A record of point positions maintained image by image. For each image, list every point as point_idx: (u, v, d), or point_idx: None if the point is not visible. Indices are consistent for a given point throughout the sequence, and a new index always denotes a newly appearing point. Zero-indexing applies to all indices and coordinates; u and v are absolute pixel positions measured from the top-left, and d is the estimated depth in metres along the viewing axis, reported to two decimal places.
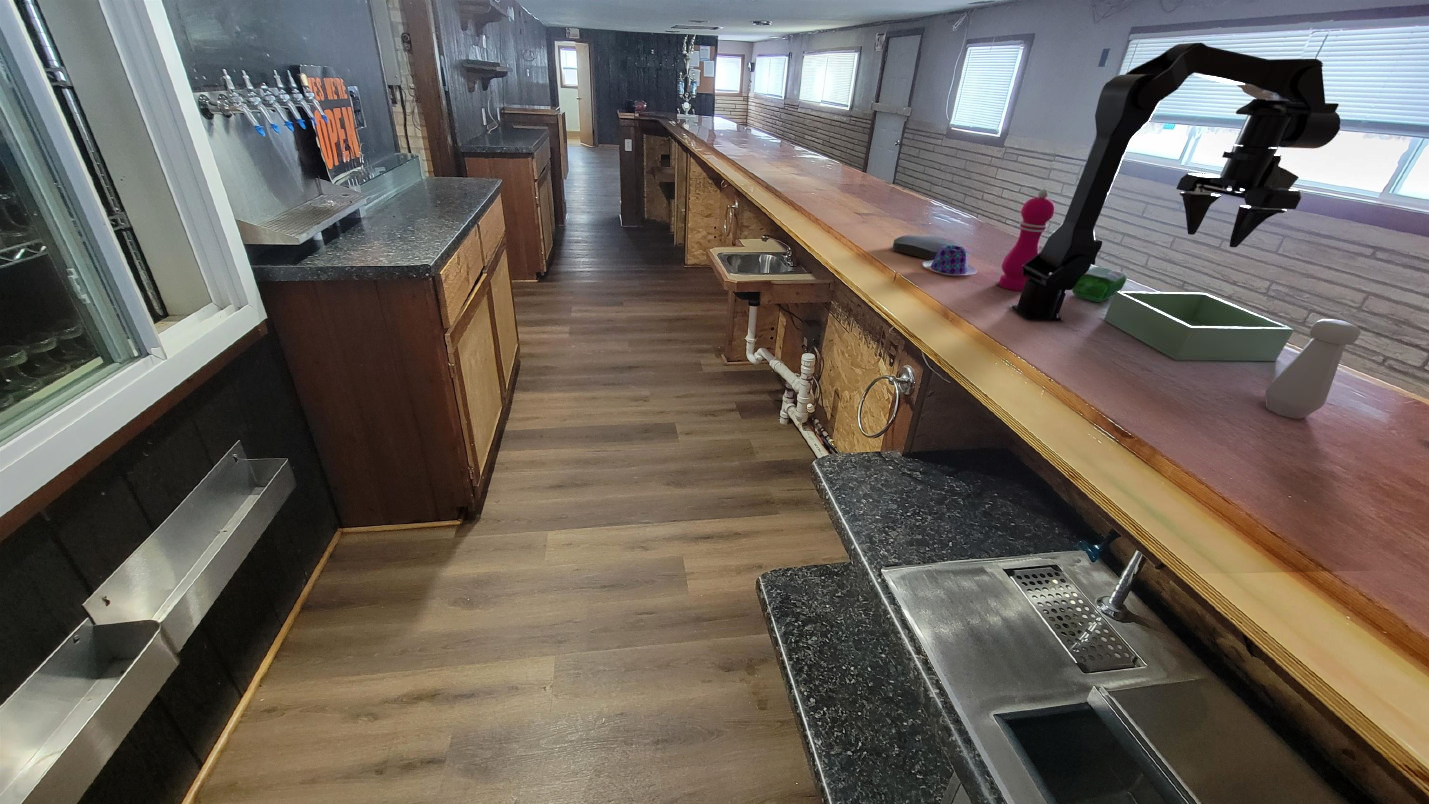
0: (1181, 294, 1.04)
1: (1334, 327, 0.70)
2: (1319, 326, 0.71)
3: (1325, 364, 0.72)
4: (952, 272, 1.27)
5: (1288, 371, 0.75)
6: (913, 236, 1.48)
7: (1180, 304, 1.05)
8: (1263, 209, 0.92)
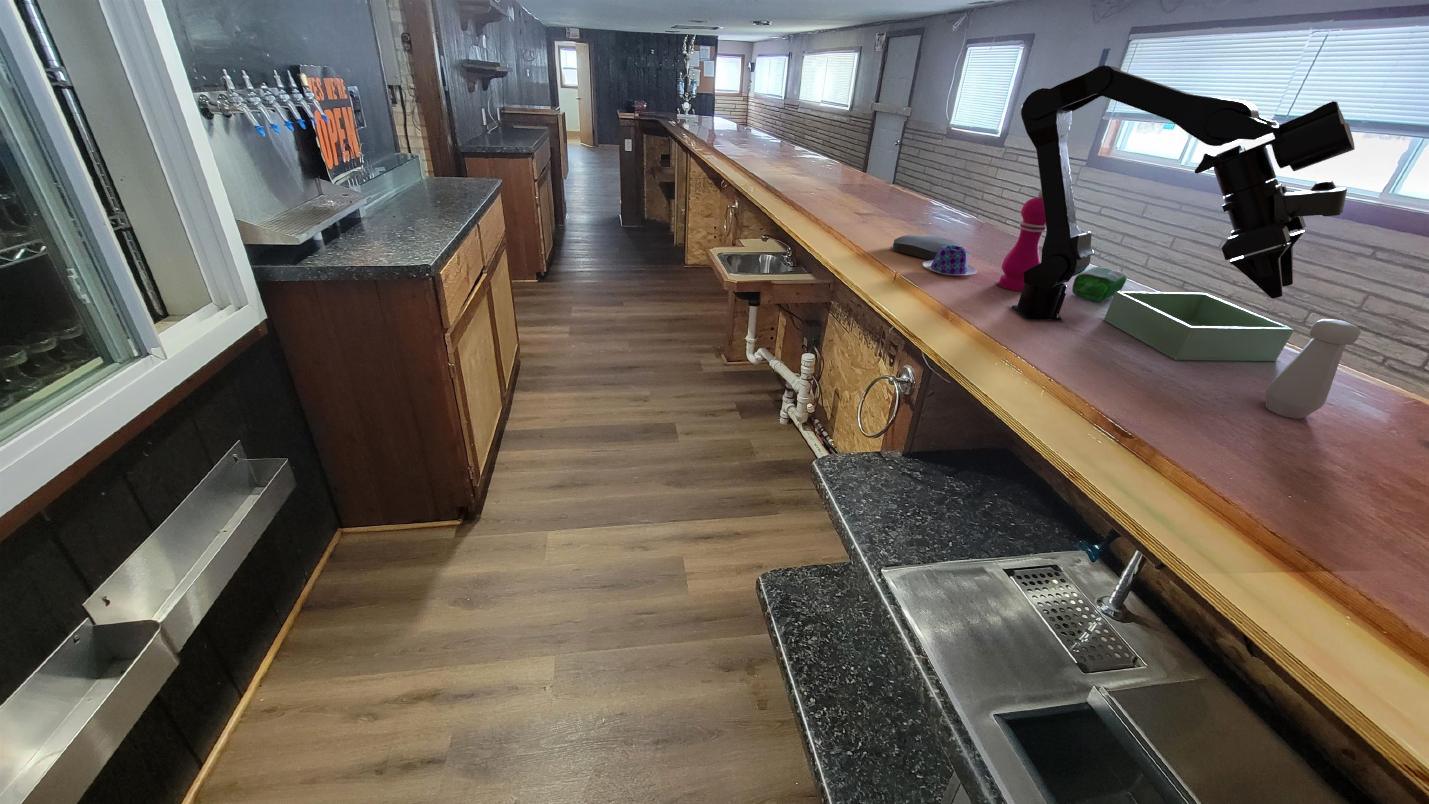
0: (1181, 294, 1.04)
1: (1334, 327, 0.70)
2: (1319, 326, 0.71)
3: (1325, 364, 0.72)
4: (952, 272, 1.27)
5: (1288, 371, 0.75)
6: (913, 236, 1.48)
7: (1180, 304, 1.05)
8: (1243, 257, 0.77)
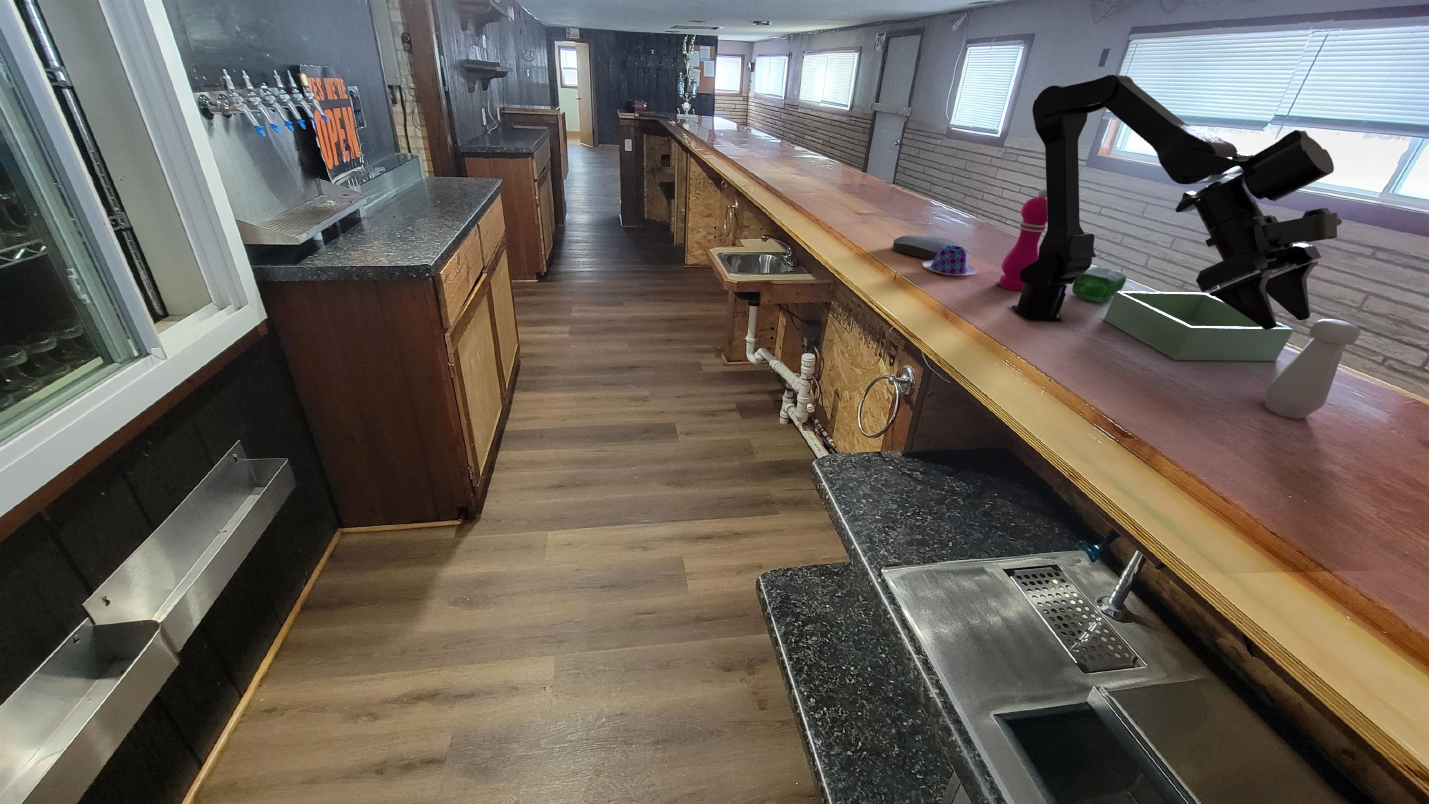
0: (1181, 294, 1.04)
1: (1334, 327, 0.70)
2: (1319, 326, 0.71)
3: (1325, 364, 0.72)
4: (952, 272, 1.27)
5: (1288, 371, 0.75)
6: (913, 236, 1.48)
7: (1180, 304, 1.05)
8: None
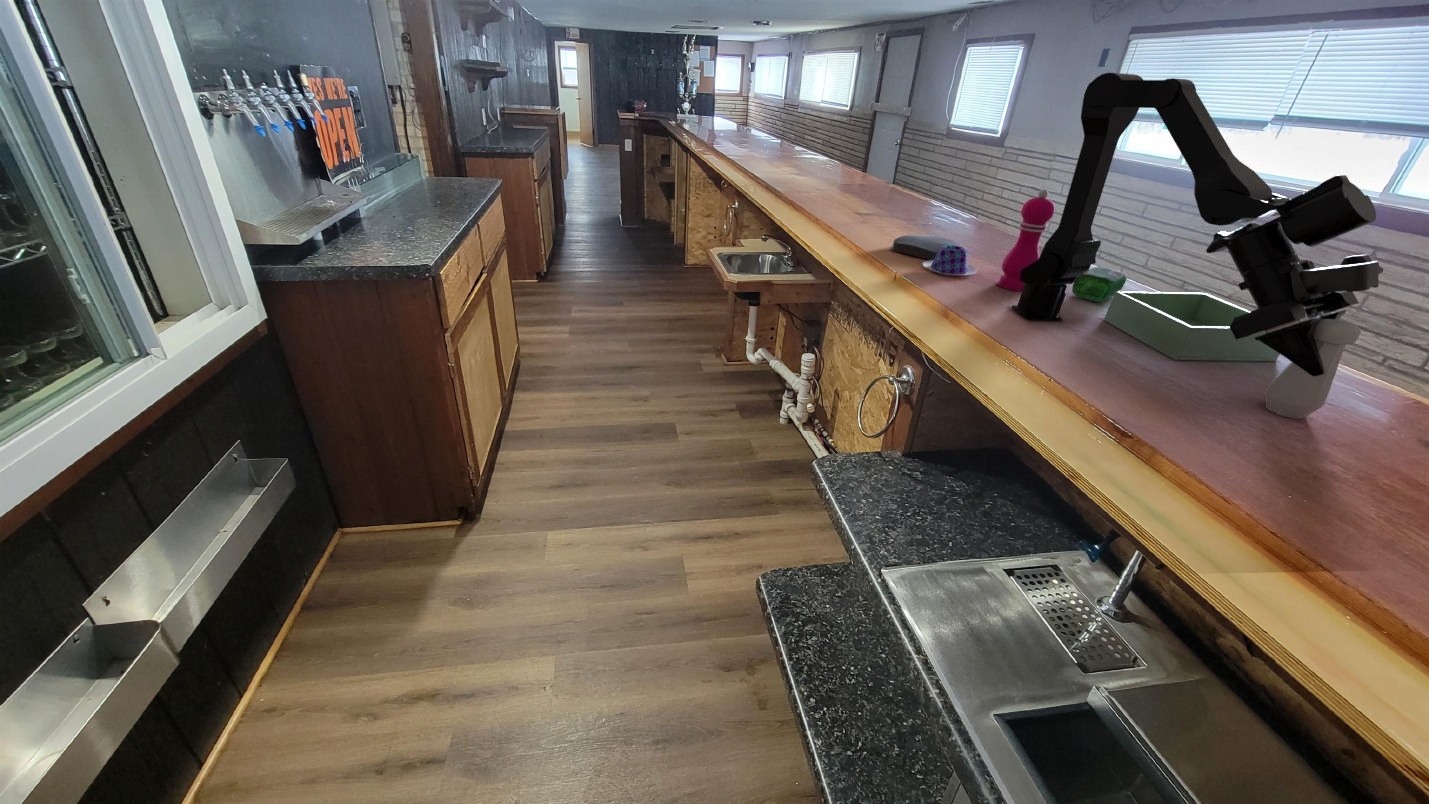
0: (1181, 294, 1.04)
1: (1334, 327, 0.70)
2: (1319, 326, 0.71)
3: (1325, 364, 0.72)
4: (952, 272, 1.27)
5: (1288, 371, 0.75)
6: (913, 236, 1.48)
7: (1180, 304, 1.05)
8: None
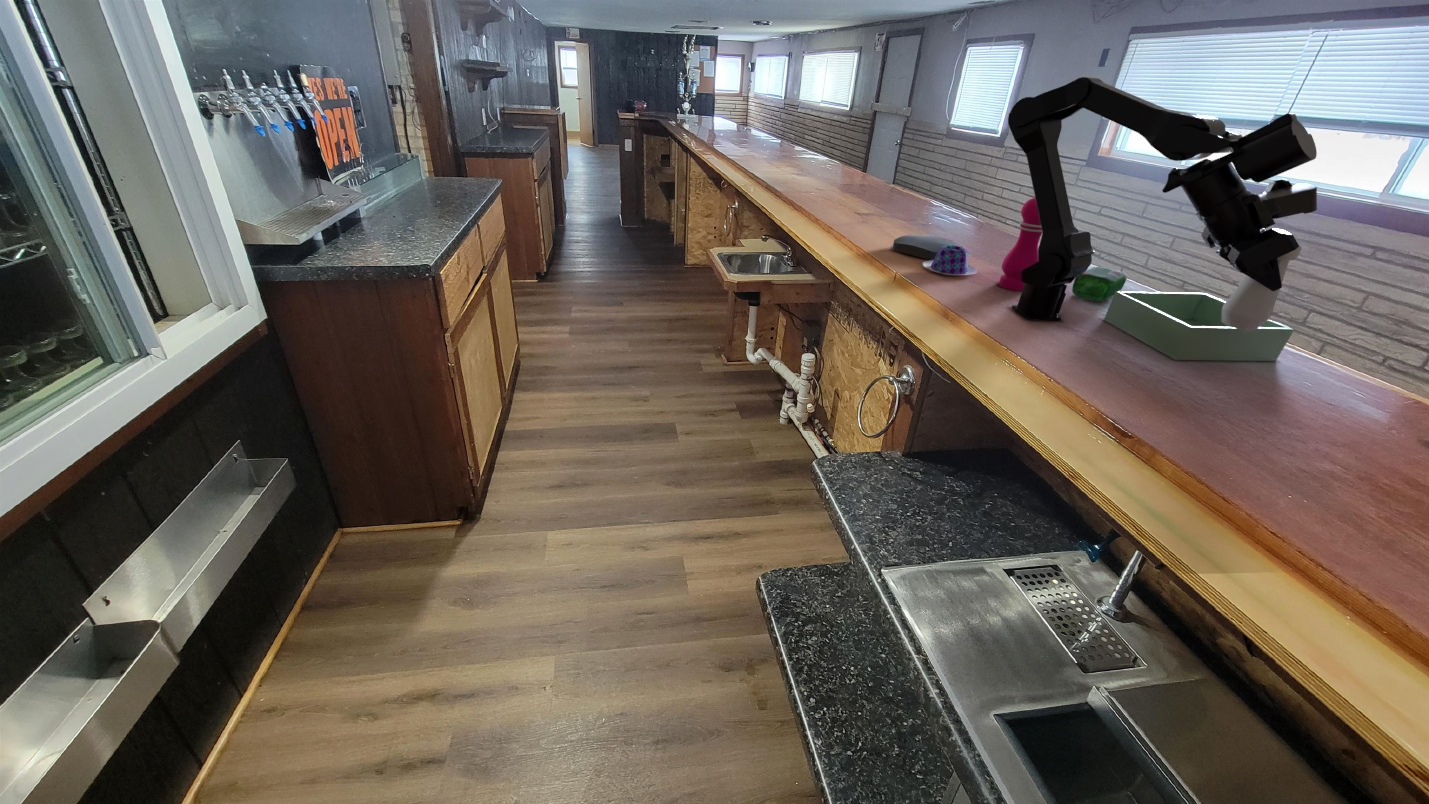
0: (1181, 294, 1.04)
1: None
2: None
3: None
4: (952, 272, 1.27)
5: (1250, 291, 0.83)
6: (913, 236, 1.48)
7: (1180, 304, 1.05)
8: None
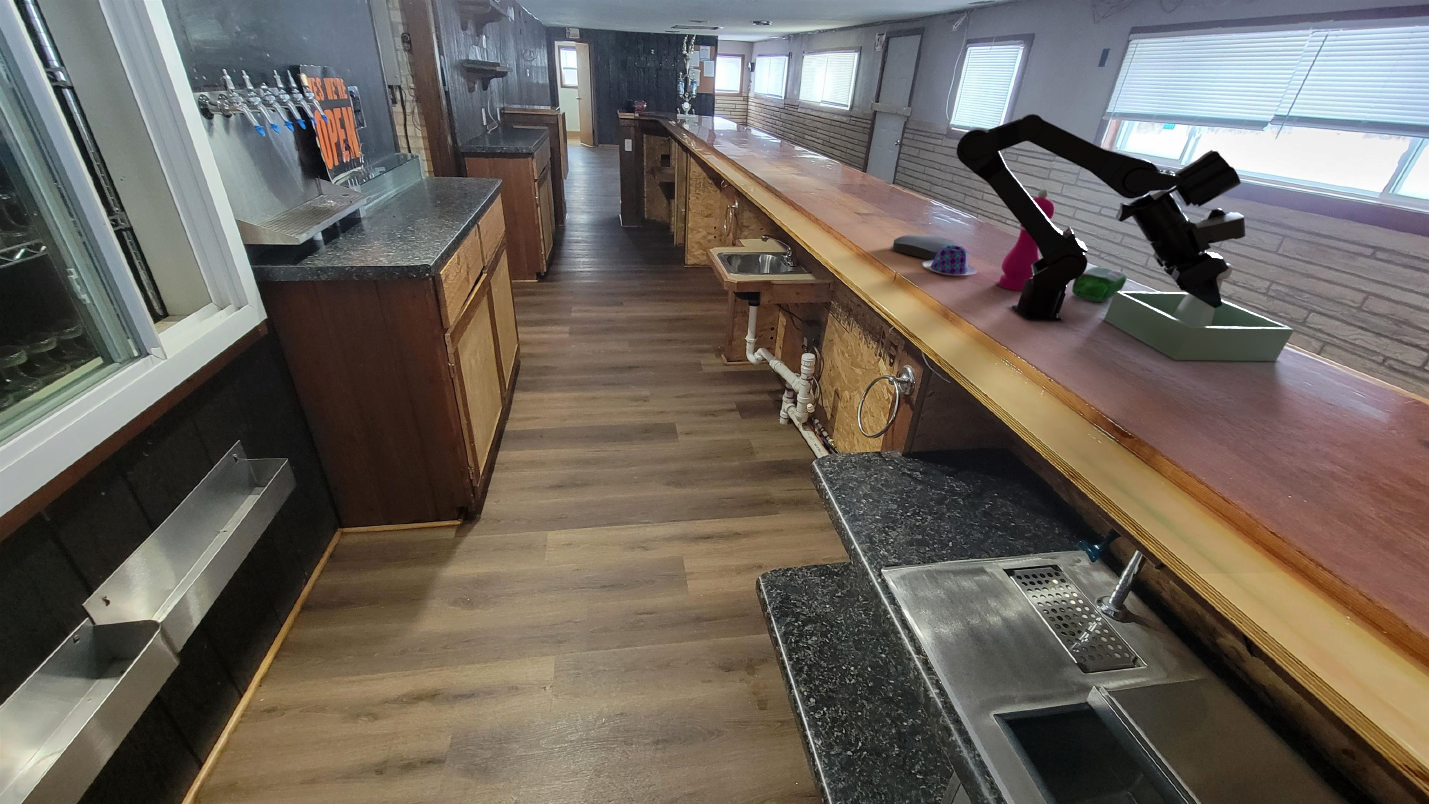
0: (1181, 294, 1.04)
1: None
2: None
3: None
4: (952, 272, 1.27)
5: (1191, 305, 0.95)
6: (913, 236, 1.48)
7: None
8: None
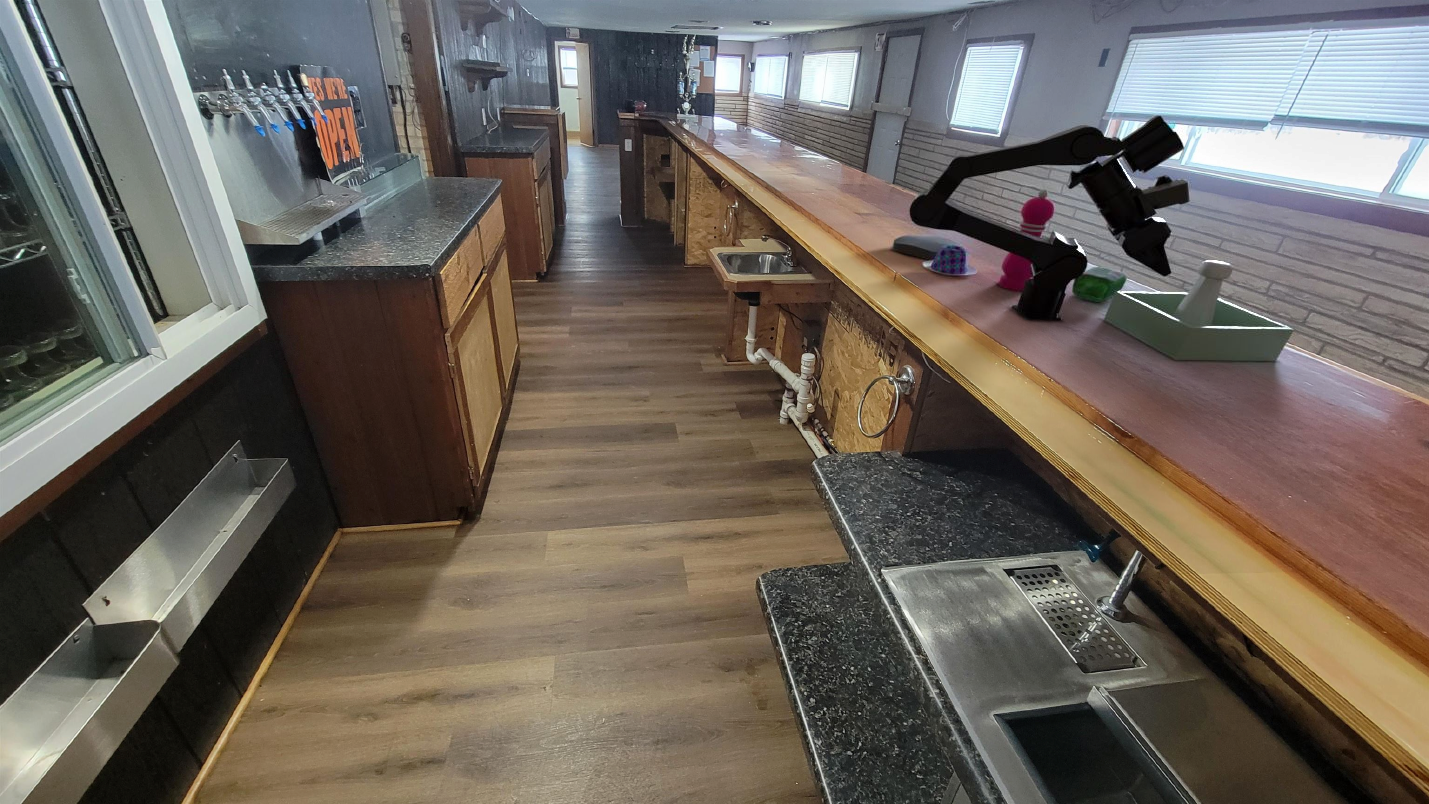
0: (1181, 294, 1.04)
1: (1222, 267, 0.91)
2: (1211, 268, 0.92)
3: (1216, 295, 0.94)
4: (952, 272, 1.27)
5: (1191, 305, 0.95)
6: (913, 236, 1.48)
7: None
8: (1139, 250, 0.90)
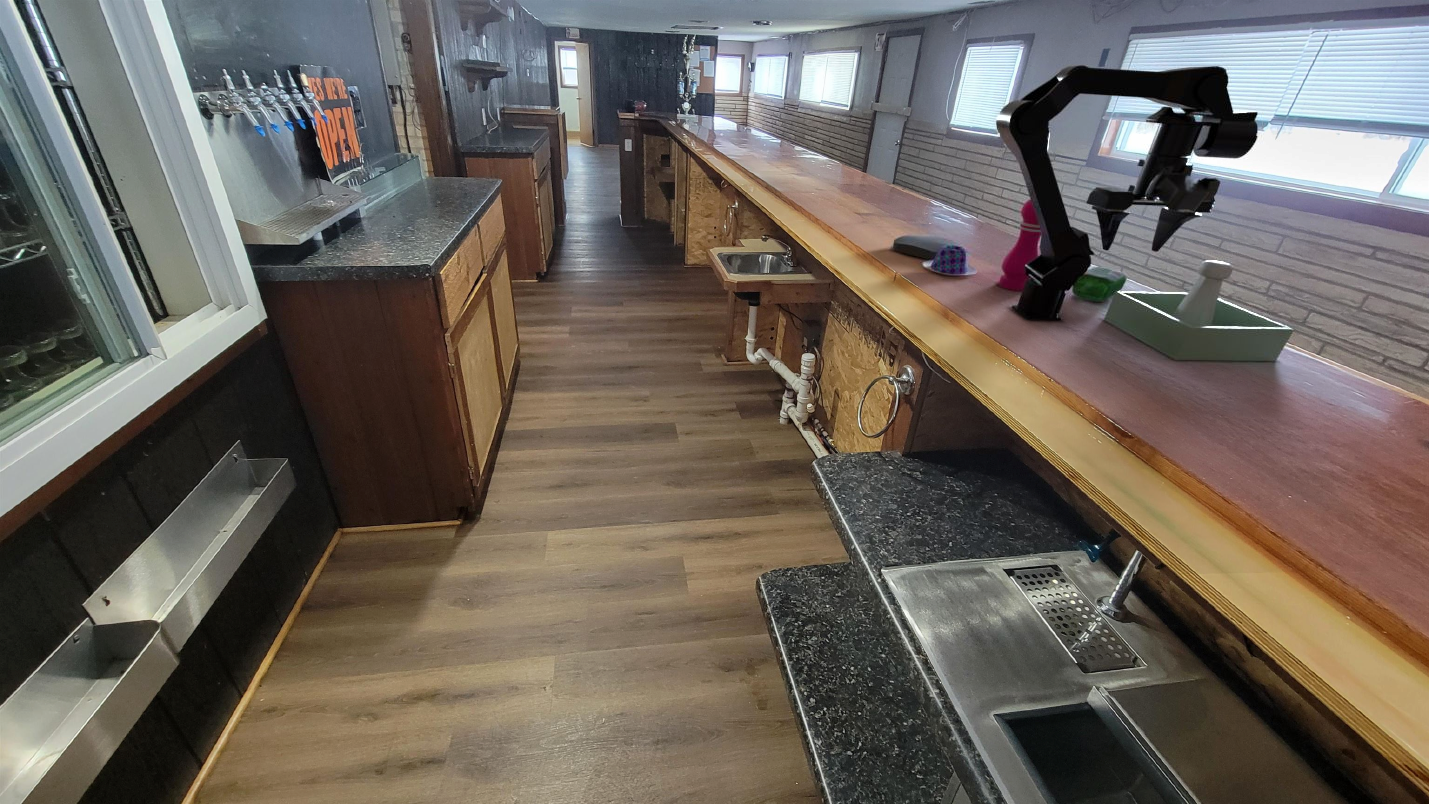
0: (1181, 294, 1.04)
1: (1222, 267, 0.91)
2: (1211, 268, 0.92)
3: (1216, 295, 0.94)
4: (952, 272, 1.27)
5: (1191, 305, 0.95)
6: (913, 236, 1.48)
7: None
8: (1097, 207, 0.97)
